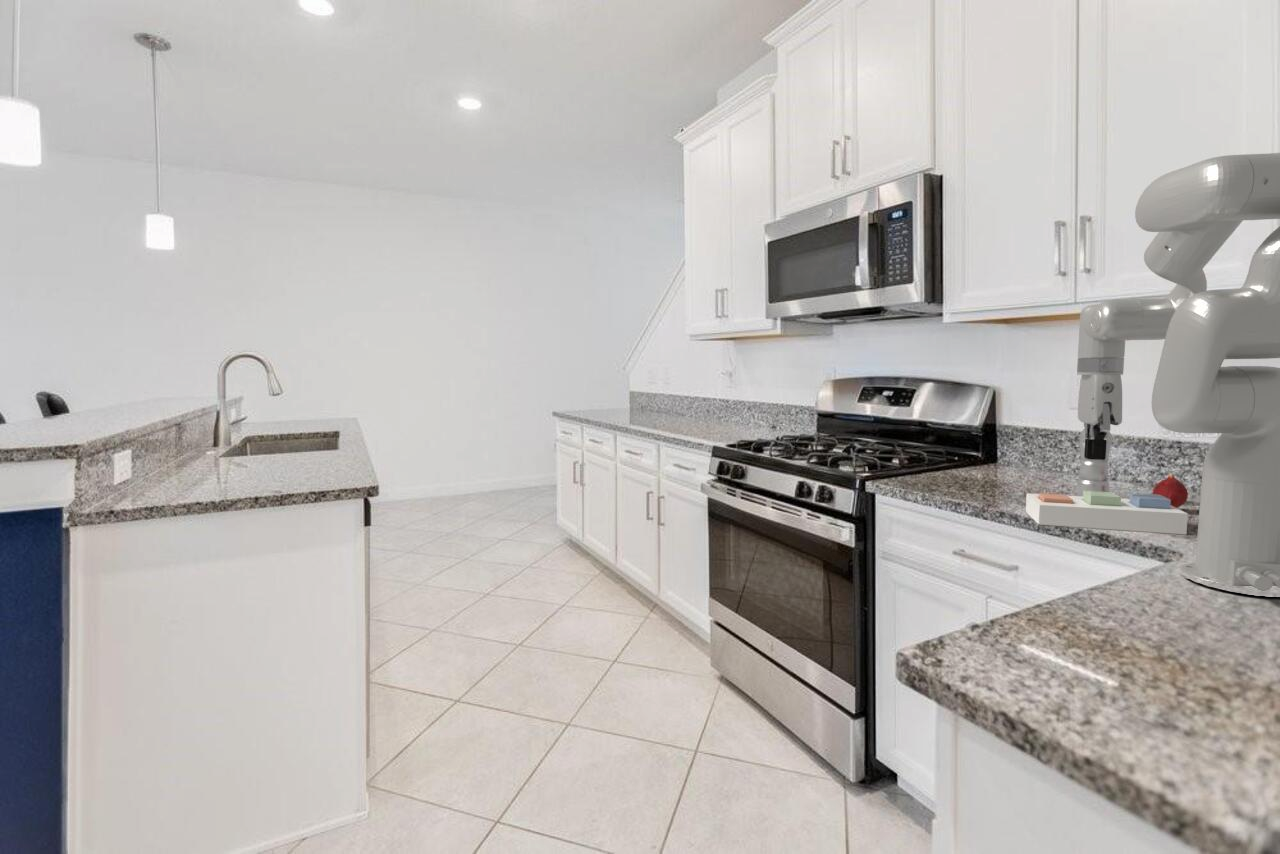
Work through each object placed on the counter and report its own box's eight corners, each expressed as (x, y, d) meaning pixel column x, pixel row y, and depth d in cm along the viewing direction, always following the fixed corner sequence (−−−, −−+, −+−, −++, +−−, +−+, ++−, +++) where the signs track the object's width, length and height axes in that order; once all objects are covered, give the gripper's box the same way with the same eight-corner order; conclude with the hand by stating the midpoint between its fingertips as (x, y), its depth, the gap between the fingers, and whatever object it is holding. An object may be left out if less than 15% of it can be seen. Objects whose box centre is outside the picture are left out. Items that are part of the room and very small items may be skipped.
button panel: (1186, 534, 120) (1187, 513, 120) (1038, 524, 128) (1039, 504, 128) (1159, 519, 131) (1161, 500, 131) (1025, 511, 140) (1026, 493, 139)
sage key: (1119, 513, 126) (1121, 497, 126) (1090, 511, 128) (1091, 495, 128) (1111, 507, 131) (1112, 492, 131) (1082, 506, 133) (1083, 490, 132)
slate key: (1169, 516, 124) (1170, 499, 123) (1138, 514, 125) (1139, 498, 125) (1158, 510, 128) (1160, 494, 128) (1128, 508, 130) (1129, 493, 130)
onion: (1192, 514, 136) (1195, 477, 135) (1161, 513, 137) (1164, 476, 136) (1175, 508, 141) (1178, 472, 140) (1146, 507, 142) (1148, 471, 142)
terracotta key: (1072, 515, 129) (1073, 499, 129) (1043, 513, 131) (1044, 498, 131) (1065, 510, 134) (1066, 494, 134) (1037, 508, 136) (1038, 493, 135)
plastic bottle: (1081, 502, 148) (1086, 415, 146) (1071, 496, 155) (1075, 413, 153) (1113, 503, 146) (1119, 416, 144) (1102, 497, 153) (1107, 413, 151)
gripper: (1138, 367, 119) (1132, 465, 121) (1107, 367, 133) (1102, 454, 135) (1091, 367, 121) (1085, 463, 123) (1066, 367, 135) (1061, 453, 137)
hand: (1094, 458), depth 129 cm, fingers closed
